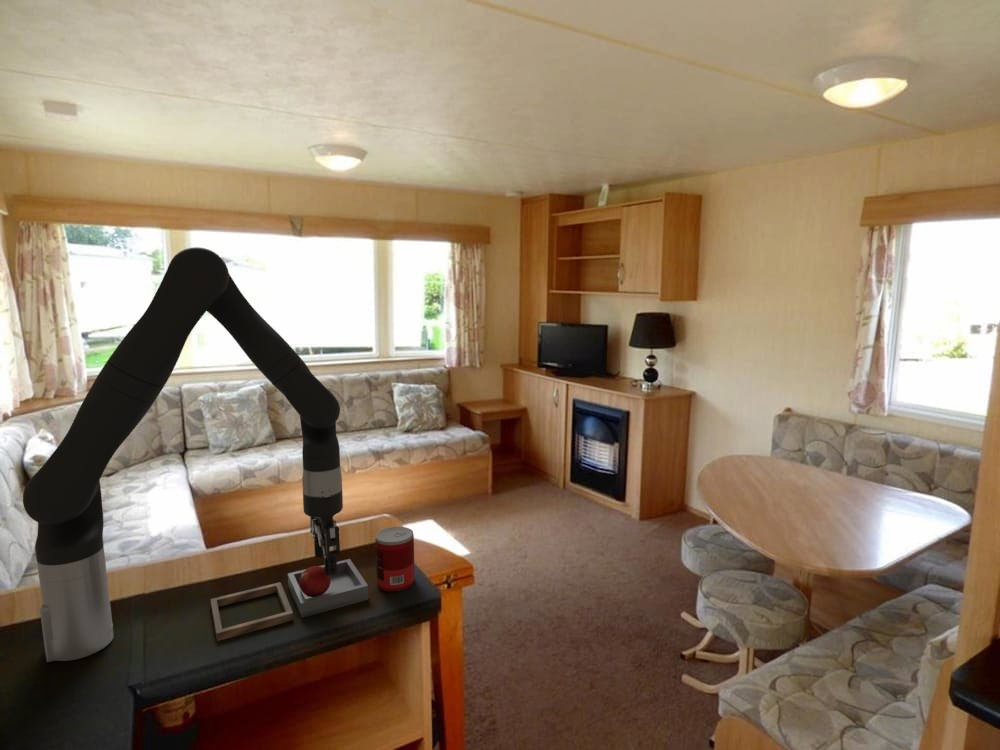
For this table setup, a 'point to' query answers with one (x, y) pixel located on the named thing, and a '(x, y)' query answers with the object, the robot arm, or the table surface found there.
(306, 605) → the bin
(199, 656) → the table surface
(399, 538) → the canned food
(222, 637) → the square frame
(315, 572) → the onion
